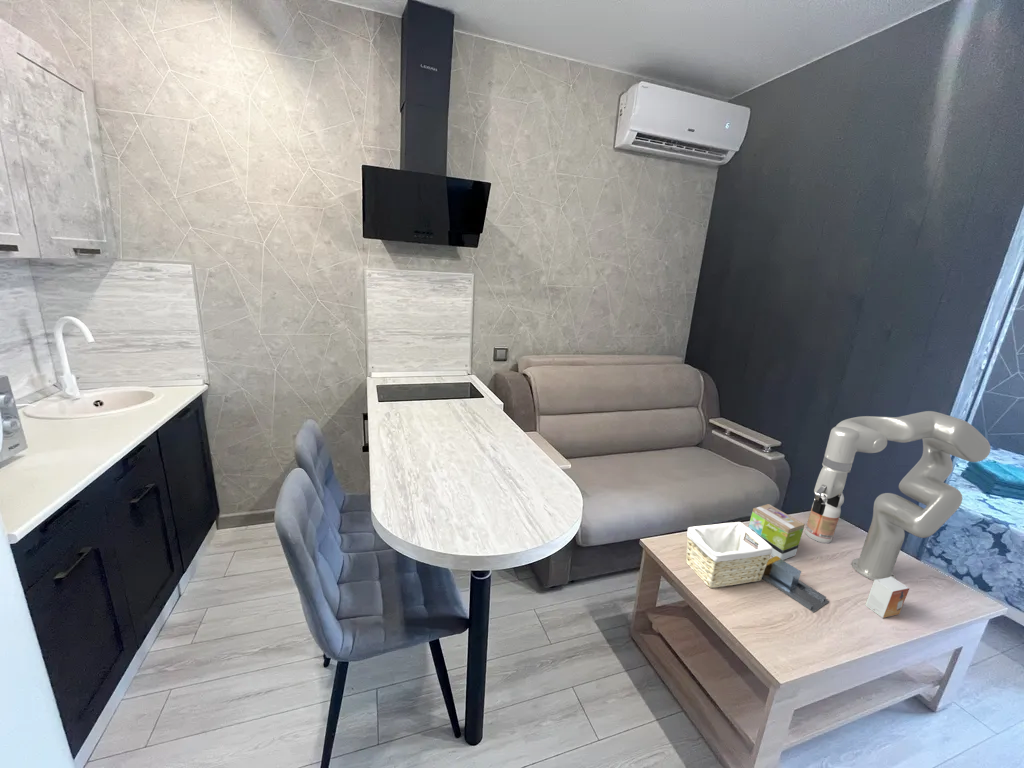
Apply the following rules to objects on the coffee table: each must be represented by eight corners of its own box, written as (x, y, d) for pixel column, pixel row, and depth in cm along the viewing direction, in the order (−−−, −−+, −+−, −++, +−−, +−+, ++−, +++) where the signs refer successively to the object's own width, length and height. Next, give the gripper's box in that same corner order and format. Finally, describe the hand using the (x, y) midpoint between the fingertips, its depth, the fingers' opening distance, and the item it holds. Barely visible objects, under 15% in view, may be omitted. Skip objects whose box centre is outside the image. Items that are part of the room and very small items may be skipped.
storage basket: (707, 591, 142) (716, 554, 138) (678, 559, 157) (685, 525, 153) (766, 583, 147) (776, 548, 143) (733, 553, 162) (741, 520, 158)
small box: (882, 618, 135) (892, 591, 132) (864, 605, 140) (873, 579, 137) (900, 614, 137) (910, 588, 134) (881, 601, 142) (891, 575, 139)
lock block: (776, 573, 152) (780, 559, 151) (797, 585, 147) (801, 571, 145) (768, 577, 150) (772, 563, 148) (789, 590, 144) (793, 576, 143)
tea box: (744, 538, 172) (752, 507, 168) (760, 533, 176) (768, 502, 172) (779, 562, 159) (789, 528, 155) (796, 556, 163) (806, 523, 159)
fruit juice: (800, 533, 178) (817, 474, 170) (810, 527, 183) (828, 469, 175) (825, 546, 170) (844, 484, 163) (835, 539, 175) (854, 479, 168)
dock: (773, 567, 156) (776, 555, 154) (828, 602, 141) (832, 589, 139) (757, 575, 151) (760, 563, 150) (813, 612, 136) (817, 599, 134)
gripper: (837, 454, 146) (825, 497, 151) (810, 464, 137) (799, 510, 142) (862, 463, 140) (849, 508, 144) (837, 474, 131) (824, 522, 136)
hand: (824, 509), depth 143 cm, fingers open, 9 cm apart
